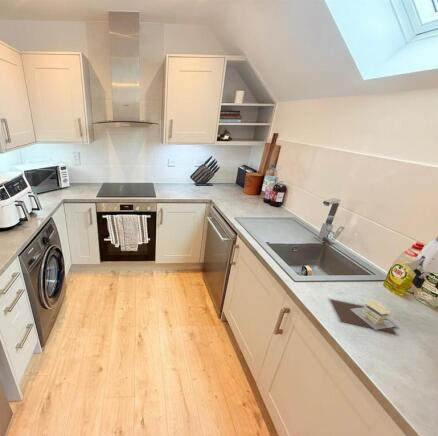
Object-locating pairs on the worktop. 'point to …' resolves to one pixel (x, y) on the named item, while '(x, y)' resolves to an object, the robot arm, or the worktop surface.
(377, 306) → the stacked layers on plate
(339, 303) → the spill
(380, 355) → the worktop surface
